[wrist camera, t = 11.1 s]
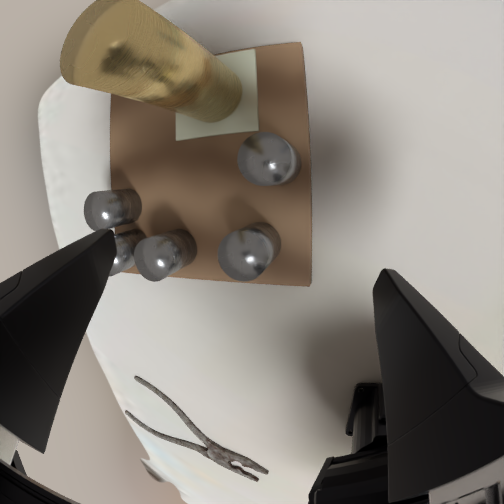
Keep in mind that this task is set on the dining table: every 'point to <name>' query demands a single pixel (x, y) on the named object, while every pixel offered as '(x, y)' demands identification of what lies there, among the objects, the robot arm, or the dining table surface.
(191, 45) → the disc
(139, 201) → the spacer posts
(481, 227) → the dining table surface
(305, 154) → the walnut board
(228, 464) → the pliers
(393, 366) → the robot arm
